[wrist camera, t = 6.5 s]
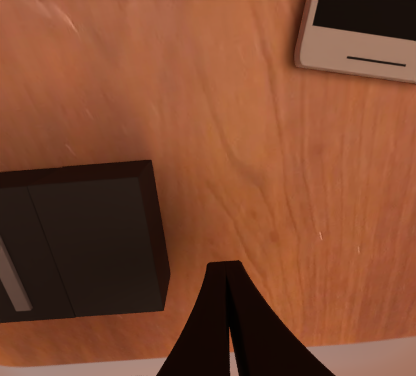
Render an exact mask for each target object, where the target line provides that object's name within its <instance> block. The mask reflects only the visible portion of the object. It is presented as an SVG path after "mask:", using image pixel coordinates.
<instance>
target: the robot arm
mask: <svg viewBox="0 0 416 376" xmlns="http://www.w3.org/2000/svg"><path fill="white" fill-rule="evenodd" d="M229 327H230V332H231V338H232V343H233V348H234V353H235V357H236V363H237V368H238V373H239V376H335V375H334V374H333V373H332V372H331V371H330V370H329V369H327V368H326V367H325V366H324V365H323V364H322V363H321V362H320V361H319V360H318V359H317V358H316V357H315V356H314V355H313V354H311V352H310V351H309V350H308V349H307V348H306V347H305V346H304V345H303V344H302V343H301V342H300V341H299V340H298V339H297V338H296V337H295V336H294V335H293V334H292V332H291V331H290V330H289V329H288V328H287V327H286V326H285V325H284V323H283V322H282V321H281V320H280V319H279V317H278V316H277V315H276V314H275V312H274V311H273V310H272V309H271V307H270V306H269V305H268V304H267V302H266V301H265V299H264V298H263V297H262V295H261V294H260V292H259V291H258V290H257V288H256V287H255V285H254V284H253V282H252V281H251V279H250V277H249V276H248V274H247V272H246V270H245V269H244V267H243V265H242V262H240V261H239V260H236V261H222V262H209V263H208V264H207V268H206V273H205V277H204V281H203V284H202V287H201V290H200V292H199V295H198V298H197V300H196V303H195V305H194V308H193V310H192V312H191V314H190V316H189V318H188V321H187V323H186V325H185V327H184V329H183V331H182V333H181V335H180V337H179V338H178V340H177V342H176V344H175V346H174V347H173V349H172V351H171V353H170V354H169V356H168V358H167V359H166V361H165V362H164V364H163V366H162V367H161V369H160V371H159V372H158V374H157V375H156V376H230V359H229V358H230V353H229Z"/></svg>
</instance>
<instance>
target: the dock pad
mask: <svg viewBox="0 0 416 376" xmlns="http://www.w3.org/2000/svg"><path fill="white" fill-rule="evenodd" d="M58 169H60V168H50V169H37V170H24V171H12V172H0V323H6V322H20V321H34V320H49V319H63V318H75V317H76V315H75V312H74V310H73V307H72V304H71V302H70V299H69V296H68V294H67V291H66V288H65V286H64V283H63V280H62V278H61V275H60V272H59V270H58V267H57V264H56V262H55V259H54V256H53V254H52V251H51V248H50V246H49V243H48V240H47V238H46V235H45V232H44V230H43V227H42V224H41V221H40V219H39V216H38V213H37V211H36V208H35V205H34V203H33V200H32V197H31V195H30V192H29V189H28V185H30V184H31V183H33V182H35V181H37V180H39V179H41V178H43V177H45V176H47V175H49V174H51V173H53V172H54V171H56V170H58Z"/></svg>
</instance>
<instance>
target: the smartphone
mask: <svg viewBox="0 0 416 376" xmlns="http://www.w3.org/2000/svg"><path fill="white" fill-rule="evenodd" d="M294 62H295V65H296V66H297V67H300V68H307V69H315V70H322V71H329V72H336V73H343V74H350V75H357V76H364V77H372V78H379V79H386V80H393V81H400V82H407V83H414V84H416V0H306V3H305V7H304V12H303V16H302V21H301V25H300V30H299V34H298V39H297V43H296V48H295V54H294Z"/></svg>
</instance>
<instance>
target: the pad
mask: <svg viewBox="0 0 416 376" xmlns="http://www.w3.org/2000/svg"><path fill="white" fill-rule="evenodd" d="M28 189H29V192H30V195H31V197H32V200H33V203H34V205H35V208H36V211H37V213H38V216H39V219H40V221H41V224H42V227H43V230H44V232H45V235H46V238H47V240H48V243H49V246H50V248H51V251H52V254H53V256H54V259H55V262H56V264H57V267H58V270H59V272H60V275H61V278H62V280H63V283H64V286H65V288H66V291H67V294H68V296H69V299H70V302H71V304H72V307H73V310H74V312H75V315H76V317H84V316H98V315H113V314H127V313H141V312H156V311H164V306H165V301H166V296H167V290H168V285H169V280H170V268H169V262H168V256H167V250H166V244H165V238H164V232H163V226H162V220H161V214H160V208H159V202H158V196H157V190H156V184H155V178H154V172H153V166H152V161H151V160H143V161H131V162H118V163H105V164H92V165H80V166H67V167H62V168H60V169H58V170H56V171H54V172H53V173H51V174H49V175H47V176H45V177H43V178H41V179H39V180H37V181H35V182H33V183H31V184H30V185H28Z"/></svg>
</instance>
